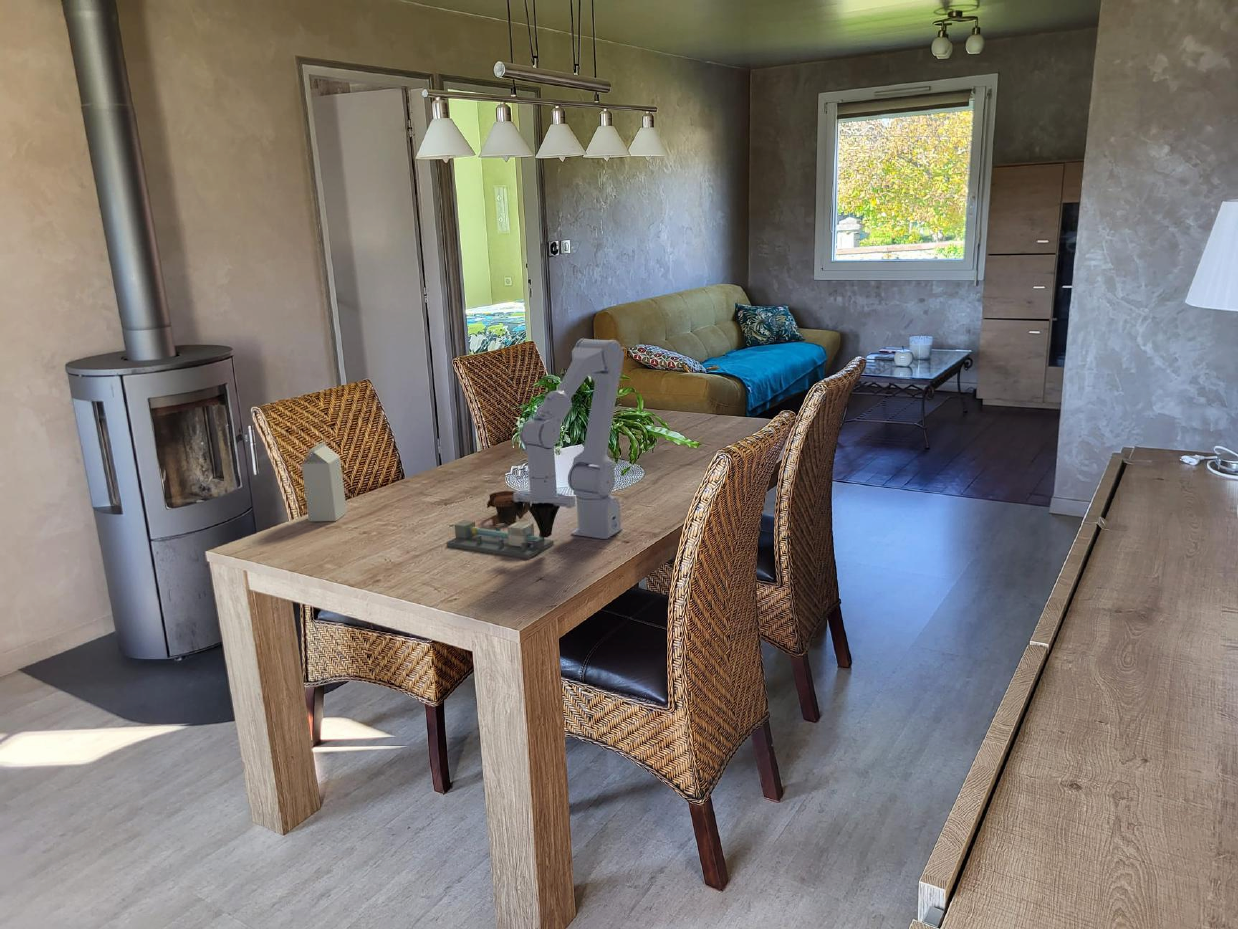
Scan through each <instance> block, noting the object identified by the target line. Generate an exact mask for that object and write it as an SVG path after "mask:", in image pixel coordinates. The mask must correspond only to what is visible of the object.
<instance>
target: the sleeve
mask: <svg viewBox="0 0 1238 929" xmlns="http://www.w3.org/2000/svg"><path fill="white" fill-rule="evenodd" d="M534 524H535V523H533V522H530V521H516V523H514V524H513V523H512V524H510V525H508V526H507V532H508V540H509V545H514V546H521V543H522V542H526V535H529V536H535V528H534V526H535V525H534ZM526 546H527V545H526Z"/></svg>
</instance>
